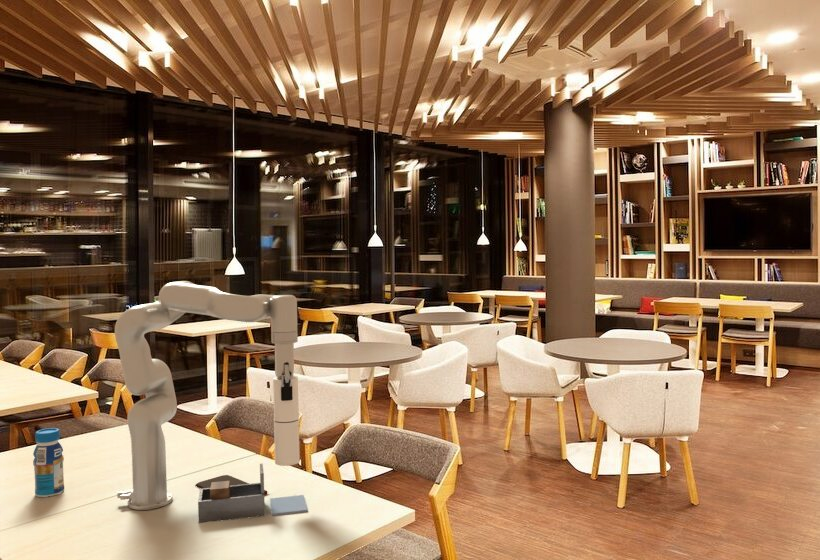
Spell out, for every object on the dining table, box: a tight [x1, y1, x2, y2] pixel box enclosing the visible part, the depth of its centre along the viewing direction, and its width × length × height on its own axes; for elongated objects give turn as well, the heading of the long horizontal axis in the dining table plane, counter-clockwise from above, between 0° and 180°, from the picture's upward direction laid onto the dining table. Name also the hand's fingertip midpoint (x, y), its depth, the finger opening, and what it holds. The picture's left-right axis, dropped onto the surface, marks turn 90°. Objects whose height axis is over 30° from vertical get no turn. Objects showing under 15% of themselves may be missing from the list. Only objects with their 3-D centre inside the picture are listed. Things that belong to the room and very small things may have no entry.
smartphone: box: [194, 474, 268, 496], centre depth 208 cm, size 12×2×25 cm
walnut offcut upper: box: [210, 481, 230, 500], centre depth 188 cm, size 5×6×4 cm
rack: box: [197, 463, 266, 524], centre depth 189 cm, size 18×11×12 cm, turn 105°
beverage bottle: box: [32, 427, 65, 498], centre depth 207 cm, size 8×8×20 cm
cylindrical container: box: [272, 375, 301, 467], centre depth 192 cm, size 7×7×25 cm
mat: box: [269, 494, 308, 516], centre depth 194 cm, size 10×12×1 cm
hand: (285, 397), depth 192 cm, fingers closed on cylindrical container, 7 cm apart
